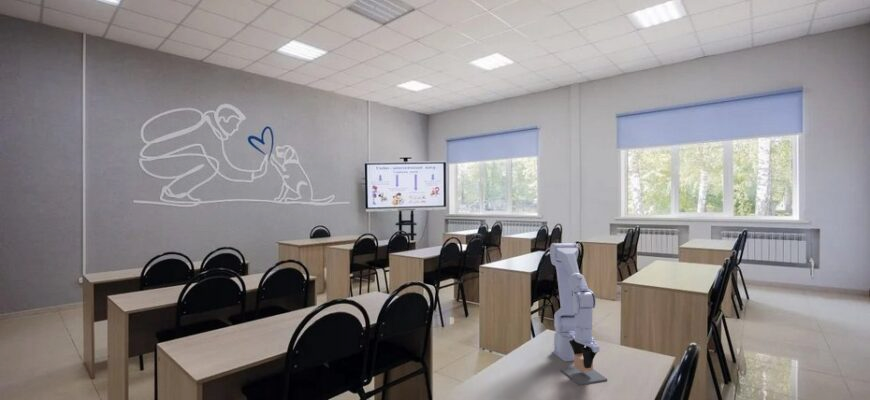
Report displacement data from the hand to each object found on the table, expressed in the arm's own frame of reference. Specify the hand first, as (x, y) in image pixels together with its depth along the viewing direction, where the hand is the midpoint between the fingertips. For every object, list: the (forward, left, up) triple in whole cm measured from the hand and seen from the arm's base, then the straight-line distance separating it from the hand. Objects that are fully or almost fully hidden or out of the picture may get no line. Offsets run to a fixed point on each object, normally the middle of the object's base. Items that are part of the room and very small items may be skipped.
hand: (583, 364), depth 139 cm
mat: (0, 0, -4) cm, 4 cm away
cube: (0, 0, -1) cm, 1 cm away
